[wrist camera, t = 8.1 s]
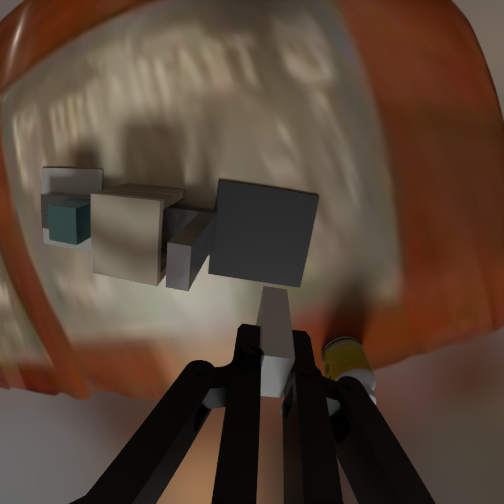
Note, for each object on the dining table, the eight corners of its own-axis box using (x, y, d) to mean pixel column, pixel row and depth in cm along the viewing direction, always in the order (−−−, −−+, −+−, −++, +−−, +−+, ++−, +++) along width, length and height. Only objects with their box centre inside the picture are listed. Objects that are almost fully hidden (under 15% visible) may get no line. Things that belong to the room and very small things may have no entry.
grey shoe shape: (219, 180, 33) (218, 180, 33) (318, 196, 33) (319, 196, 33) (208, 272, 37) (208, 273, 37) (299, 286, 37) (299, 287, 37)
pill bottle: (320, 338, 40) (334, 394, 29) (362, 331, 39) (386, 384, 28) (321, 369, 42) (332, 425, 31) (359, 362, 41) (379, 415, 30)
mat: (43, 167, 33) (42, 168, 33) (103, 169, 33) (102, 169, 33) (45, 242, 37) (44, 242, 37) (102, 254, 37) (101, 254, 37)
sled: (50, 191, 34) (-10, 210, 22) (217, 210, 34) (191, 240, 22) (50, 224, 35) (-5, 250, 24) (212, 249, 35) (188, 296, 24)
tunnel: (127, 183, 34) (90, 193, 25) (185, 189, 34) (160, 201, 25) (125, 247, 37) (93, 272, 28) (179, 256, 37) (157, 285, 28)
